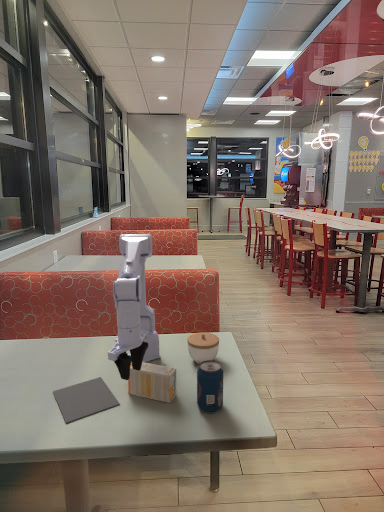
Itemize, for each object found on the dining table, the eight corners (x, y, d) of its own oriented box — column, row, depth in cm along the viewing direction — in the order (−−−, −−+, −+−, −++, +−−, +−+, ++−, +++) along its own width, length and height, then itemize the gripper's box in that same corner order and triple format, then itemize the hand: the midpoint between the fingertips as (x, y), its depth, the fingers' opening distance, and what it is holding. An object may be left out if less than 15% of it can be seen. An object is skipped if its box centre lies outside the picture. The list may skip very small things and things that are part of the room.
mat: (100, 377, 106) (100, 376, 106) (119, 404, 93) (119, 403, 93) (52, 392, 98) (52, 391, 98) (66, 423, 85) (66, 422, 85)
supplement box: (136, 385, 102) (176, 394, 97) (127, 394, 97) (170, 404, 93) (135, 359, 100) (177, 367, 96) (127, 367, 96) (170, 376, 92)
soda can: (197, 398, 95) (197, 358, 93) (222, 399, 95) (222, 359, 93) (196, 414, 88) (196, 372, 86) (223, 415, 88) (224, 372, 86)
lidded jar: (185, 366, 112) (184, 340, 111) (190, 351, 123) (190, 326, 121) (217, 369, 111) (217, 342, 109) (220, 353, 121) (220, 328, 119)
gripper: (133, 312, 94) (134, 358, 97) (96, 332, 81) (99, 384, 84) (154, 316, 91) (156, 363, 93) (120, 337, 78) (123, 391, 81)
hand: (131, 373), depth 88 cm, fingers open, 4 cm apart
